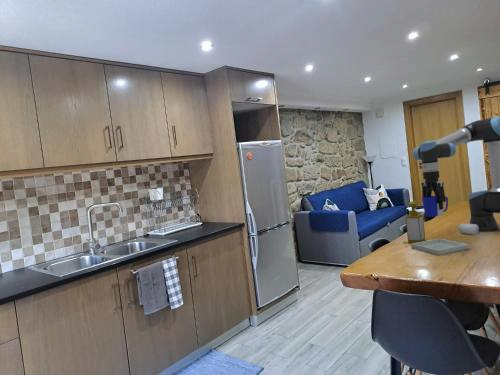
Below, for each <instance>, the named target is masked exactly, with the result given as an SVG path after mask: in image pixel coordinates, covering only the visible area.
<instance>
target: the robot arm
mask: <svg viewBox="0 0 500 375" xmlns="http://www.w3.org/2000/svg"><path fill="white" fill-rule="evenodd" d="M476 141H478V142H479V141H483V143H482V144H484V145H485V146H486V148H487V156H488V164H489V171H490V172H489V173H490V178H491V179H490V180H491V186H492V187H491V188H490V189H486V190H480V191H473V192H470V193H469V194H468V203H469V213H470V219H469V224H476V225H478V227H479V232H478V233H480V232H481V233H482V232H484V233H485V232H486V233H487V232H494V231H497V230H499V229H500V228H499V225H498V223H497V220H496V218H495V215H494V214H500V116H494V117H493V116H492V117H488V118H484V119H479V120H475V121H472V122H470V123H468V124H466V125H463V126H462V127H459V128H458V129H456V131H455V132H453V133H450V134H448V135H445V136H443V137H440V138H439V139H436V140H429V141H427V140H426V141H422V142H420V144H419V146H418V147H417V146H416V147H415V148H414V149H413V151H412V157H413V158H414V159H415V160H416V161H421V165H422V171H423V173H422V177H423V178H422V179H424V182H421V183H420V185H421V194H422V195H421V198H422V197H427V198H428V197H430V196H432V192H433V193H434V196H435V197H437V213H438V216H437V217H443V216H444V212H443V211H444V203H446V198H445V197H446V194H445V189H444V188H445V187H444V182H443V181H439V178H440V171H439V170H440V168H439V167H440V166H439V159H447V158H448V159H449V158H452V157H453V156H455V154H456V153H457V146H460V145H462V144H468V143H470V142H476Z"/></svg>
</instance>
